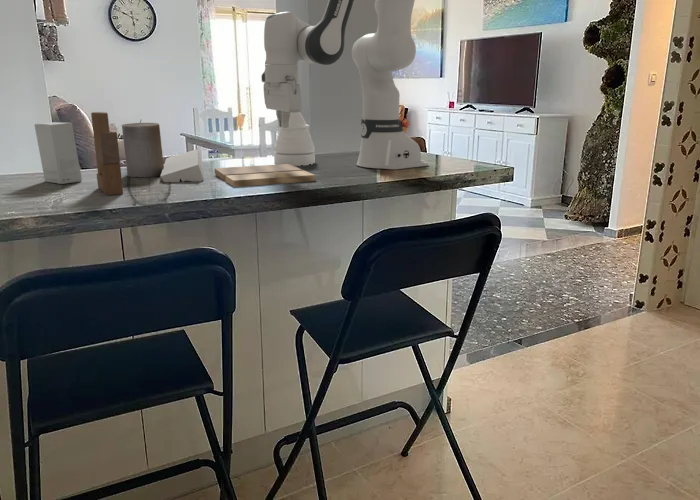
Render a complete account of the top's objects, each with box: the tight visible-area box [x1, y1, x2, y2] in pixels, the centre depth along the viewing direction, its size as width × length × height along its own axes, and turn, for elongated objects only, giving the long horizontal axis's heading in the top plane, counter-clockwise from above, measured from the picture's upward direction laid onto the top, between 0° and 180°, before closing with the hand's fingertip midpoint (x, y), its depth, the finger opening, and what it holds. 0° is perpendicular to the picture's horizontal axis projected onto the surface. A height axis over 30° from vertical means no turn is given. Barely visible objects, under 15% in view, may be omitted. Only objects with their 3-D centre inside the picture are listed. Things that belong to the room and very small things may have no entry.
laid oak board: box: [225, 170, 317, 188], centre depth 151 cm, size 22×8×2 cm, turn 116°
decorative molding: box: [159, 148, 205, 183], centre depth 166 cm, size 34×5×10 cm
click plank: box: [214, 164, 303, 182], centre depth 160 cm, size 22×10×2 cm, turn 116°
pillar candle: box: [121, 120, 164, 178], centre depth 157 cm, size 10×10×15 cm
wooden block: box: [90, 111, 124, 196], centre depth 134 cm, size 4×11×18 cm, turn 33°
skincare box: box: [34, 121, 83, 185], centre depth 146 cm, size 8×6×15 cm
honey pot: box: [273, 112, 316, 167], centre depth 182 cm, size 13×13×18 cm
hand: (283, 127), depth 162 cm, fingers closed
